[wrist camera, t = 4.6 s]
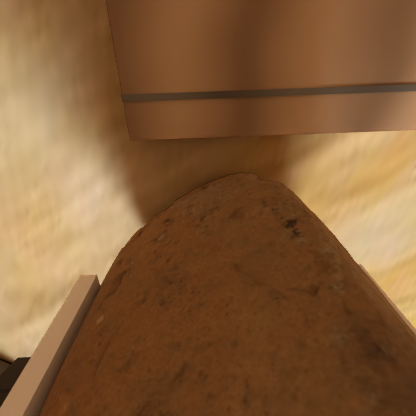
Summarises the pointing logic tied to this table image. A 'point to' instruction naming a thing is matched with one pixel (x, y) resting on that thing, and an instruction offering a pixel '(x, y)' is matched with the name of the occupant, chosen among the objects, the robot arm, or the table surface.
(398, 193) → the table surface
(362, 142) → the table surface
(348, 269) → the brown pitted rock
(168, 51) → the board
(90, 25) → the table surface
